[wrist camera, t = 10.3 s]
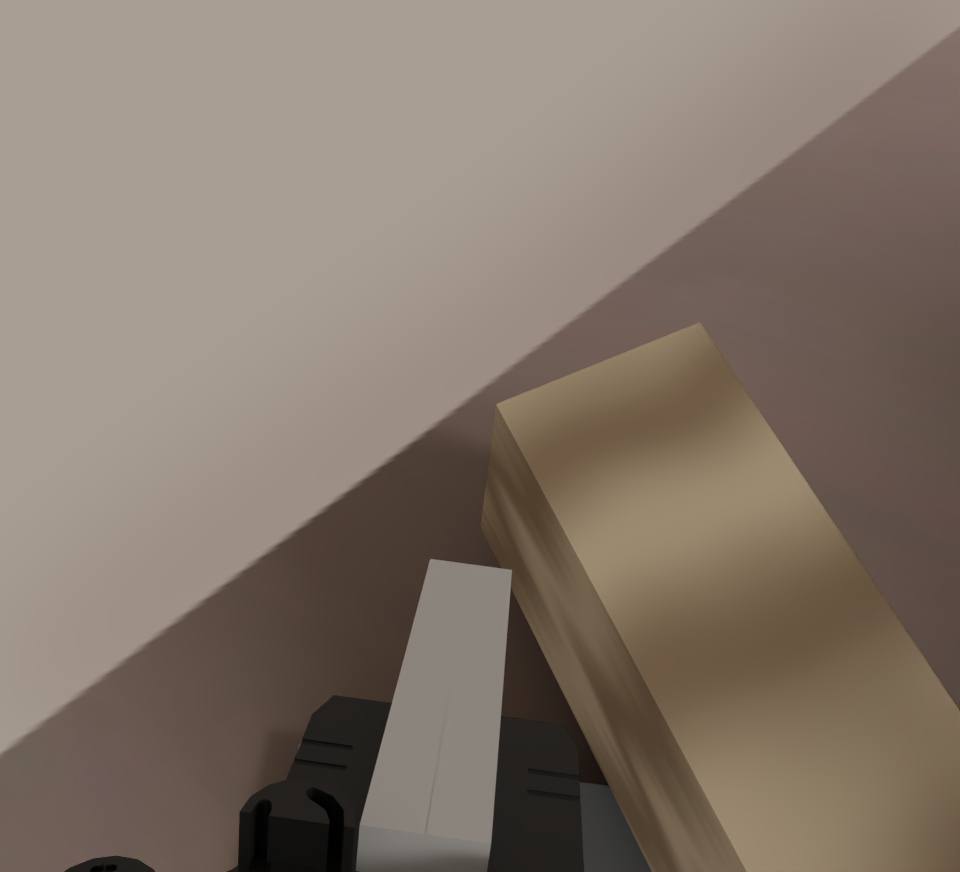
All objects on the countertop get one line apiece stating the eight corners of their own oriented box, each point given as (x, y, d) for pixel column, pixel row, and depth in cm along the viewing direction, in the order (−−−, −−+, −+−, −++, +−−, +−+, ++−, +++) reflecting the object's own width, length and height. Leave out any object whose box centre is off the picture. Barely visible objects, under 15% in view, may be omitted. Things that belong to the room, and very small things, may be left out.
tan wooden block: (982, 1053, 25) (1268, 1151, 16) (801, 1173, 23) (1010, 1349, 15) (633, 460, 32) (703, 313, 23) (480, 526, 31) (497, 396, 22)
